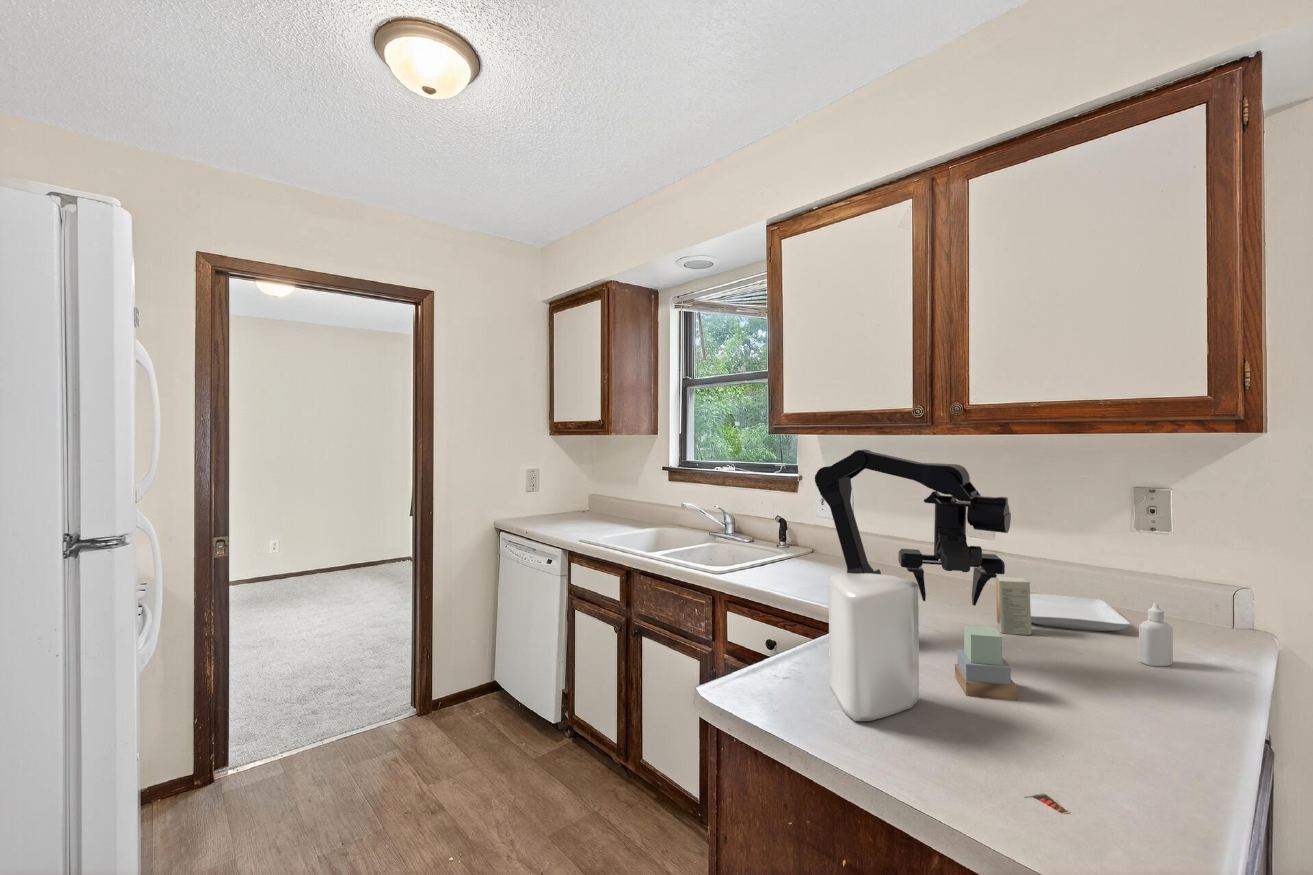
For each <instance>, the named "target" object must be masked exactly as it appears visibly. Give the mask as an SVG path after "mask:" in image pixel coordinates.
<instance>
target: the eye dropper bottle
mask: <svg viewBox="0 0 1313 875" xmlns="http://www.w3.org/2000/svg"><path fill="white" fill-rule="evenodd" d="M1173 631H1174V630H1173V627H1172V625H1171V624H1169V623H1167V622H1165V611H1164V610H1163V609H1161V608H1160V606H1159V603H1158V602H1153V604H1152V607H1149V608H1147V620H1144V621H1142V622H1141V623H1140V624H1139V625H1138V661H1139V662H1140V663H1142V664H1144V665H1147V666H1150V667H1169V666H1172V665H1173V663H1174V635H1173V634H1174V632H1173Z"/></svg>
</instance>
